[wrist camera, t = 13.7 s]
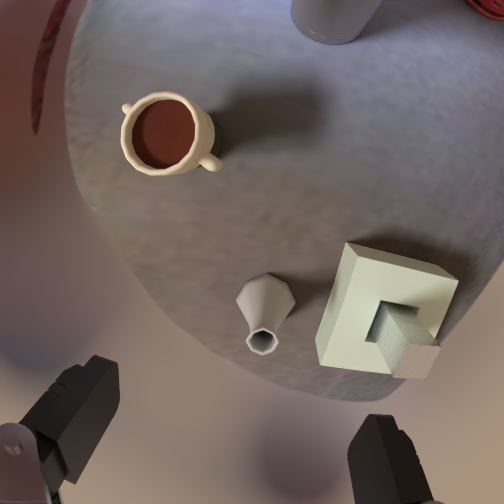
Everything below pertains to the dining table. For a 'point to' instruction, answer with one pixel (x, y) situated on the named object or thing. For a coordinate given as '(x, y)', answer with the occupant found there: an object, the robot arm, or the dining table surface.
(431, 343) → the rectangular block
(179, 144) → the character mug
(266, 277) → the flask
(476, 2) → the plant pot
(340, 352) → the well block
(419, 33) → the dining table surface
